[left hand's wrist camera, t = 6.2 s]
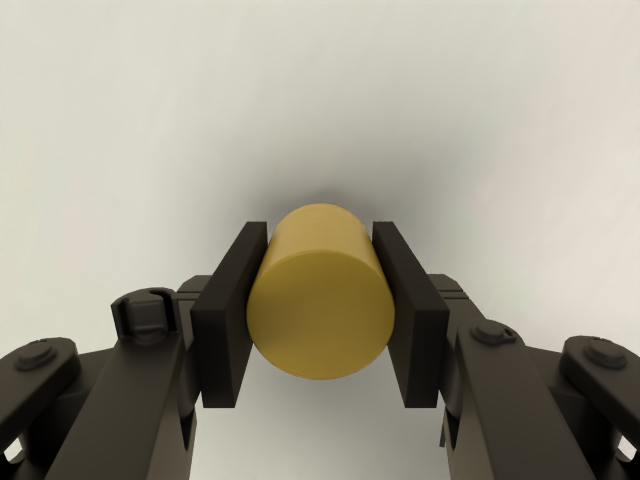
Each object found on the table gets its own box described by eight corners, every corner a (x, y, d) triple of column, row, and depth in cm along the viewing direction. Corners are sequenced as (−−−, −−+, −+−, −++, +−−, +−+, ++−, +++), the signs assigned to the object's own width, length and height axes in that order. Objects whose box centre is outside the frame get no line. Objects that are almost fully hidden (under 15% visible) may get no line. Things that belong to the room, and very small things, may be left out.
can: (365, 195, 14) (388, 238, 9) (376, 290, 15) (401, 371, 10) (259, 211, 14) (229, 262, 9) (280, 303, 15) (263, 389, 11)
